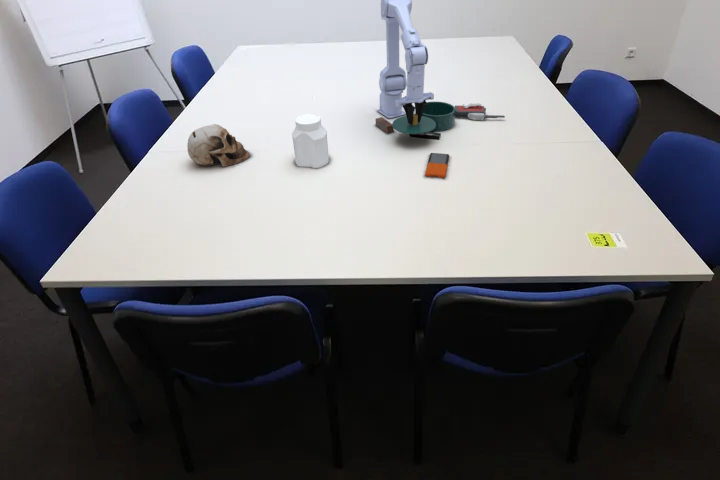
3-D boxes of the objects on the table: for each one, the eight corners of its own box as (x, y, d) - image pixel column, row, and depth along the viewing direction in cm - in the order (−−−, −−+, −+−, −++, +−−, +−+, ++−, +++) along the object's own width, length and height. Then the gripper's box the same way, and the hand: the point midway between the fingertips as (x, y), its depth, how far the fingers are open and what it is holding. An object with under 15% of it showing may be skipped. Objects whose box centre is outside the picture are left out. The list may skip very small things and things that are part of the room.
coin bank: (254, 154, 165) (243, 119, 157) (218, 180, 156) (204, 144, 147) (224, 145, 173) (212, 112, 165) (188, 169, 163) (173, 135, 155)
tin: (409, 121, 185) (409, 106, 181) (439, 113, 190) (440, 98, 186) (429, 134, 175) (430, 119, 171) (461, 126, 180) (463, 110, 176)
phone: (424, 173, 149) (430, 152, 160) (424, 177, 150) (429, 155, 161) (445, 175, 148) (449, 153, 159) (445, 178, 148) (449, 156, 160)
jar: (291, 165, 158) (285, 123, 149) (301, 153, 166) (296, 112, 157) (323, 169, 156) (320, 126, 147) (332, 155, 163) (329, 114, 154)
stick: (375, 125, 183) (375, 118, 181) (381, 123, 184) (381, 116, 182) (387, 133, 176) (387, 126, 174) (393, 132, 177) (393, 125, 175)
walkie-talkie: (451, 120, 184) (504, 121, 182) (452, 109, 181) (506, 110, 179) (451, 111, 191) (501, 112, 189) (452, 101, 188) (503, 101, 186)
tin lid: (384, 123, 171) (384, 112, 168) (420, 115, 176) (420, 103, 174) (406, 139, 160) (407, 127, 157) (444, 129, 165) (445, 118, 163)
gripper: (403, 91, 154) (402, 130, 162) (440, 83, 159) (437, 122, 167) (392, 85, 159) (391, 123, 167) (428, 77, 164) (426, 115, 172)
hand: (413, 122), depth 167 cm, fingers closed on tin lid, 2 cm apart
